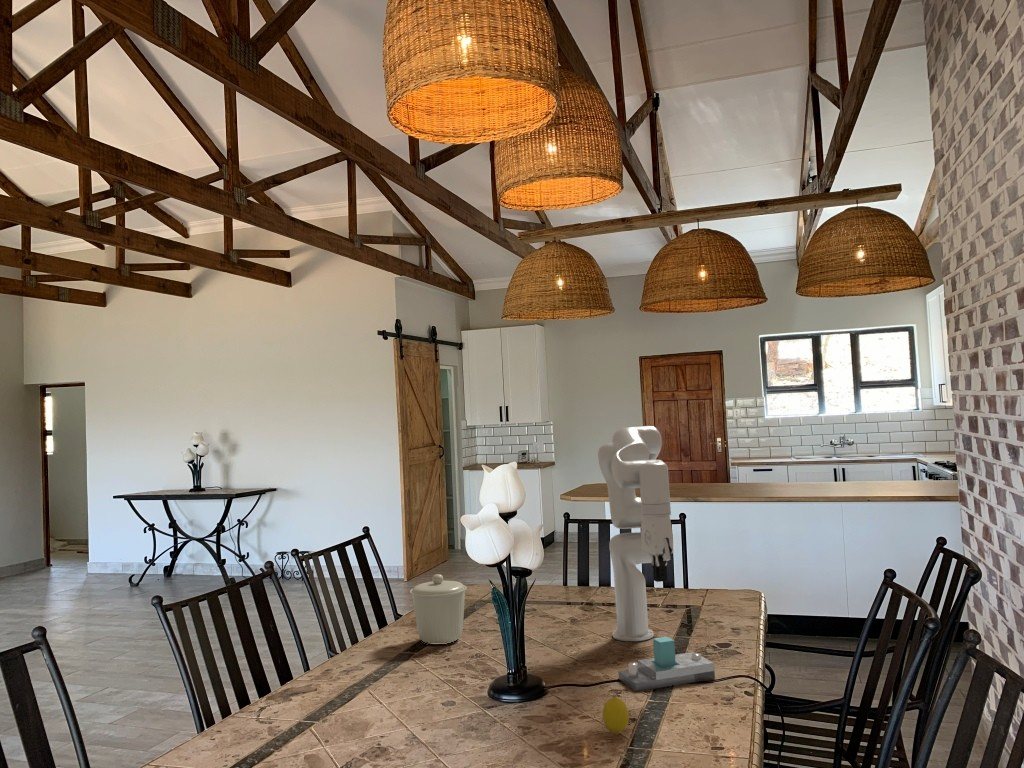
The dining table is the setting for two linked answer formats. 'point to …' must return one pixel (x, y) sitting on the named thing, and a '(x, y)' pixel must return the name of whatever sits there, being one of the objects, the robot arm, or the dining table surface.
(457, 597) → the canister
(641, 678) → the grey slotted base
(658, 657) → the pin
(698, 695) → the dining table surface
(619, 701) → the lemon
